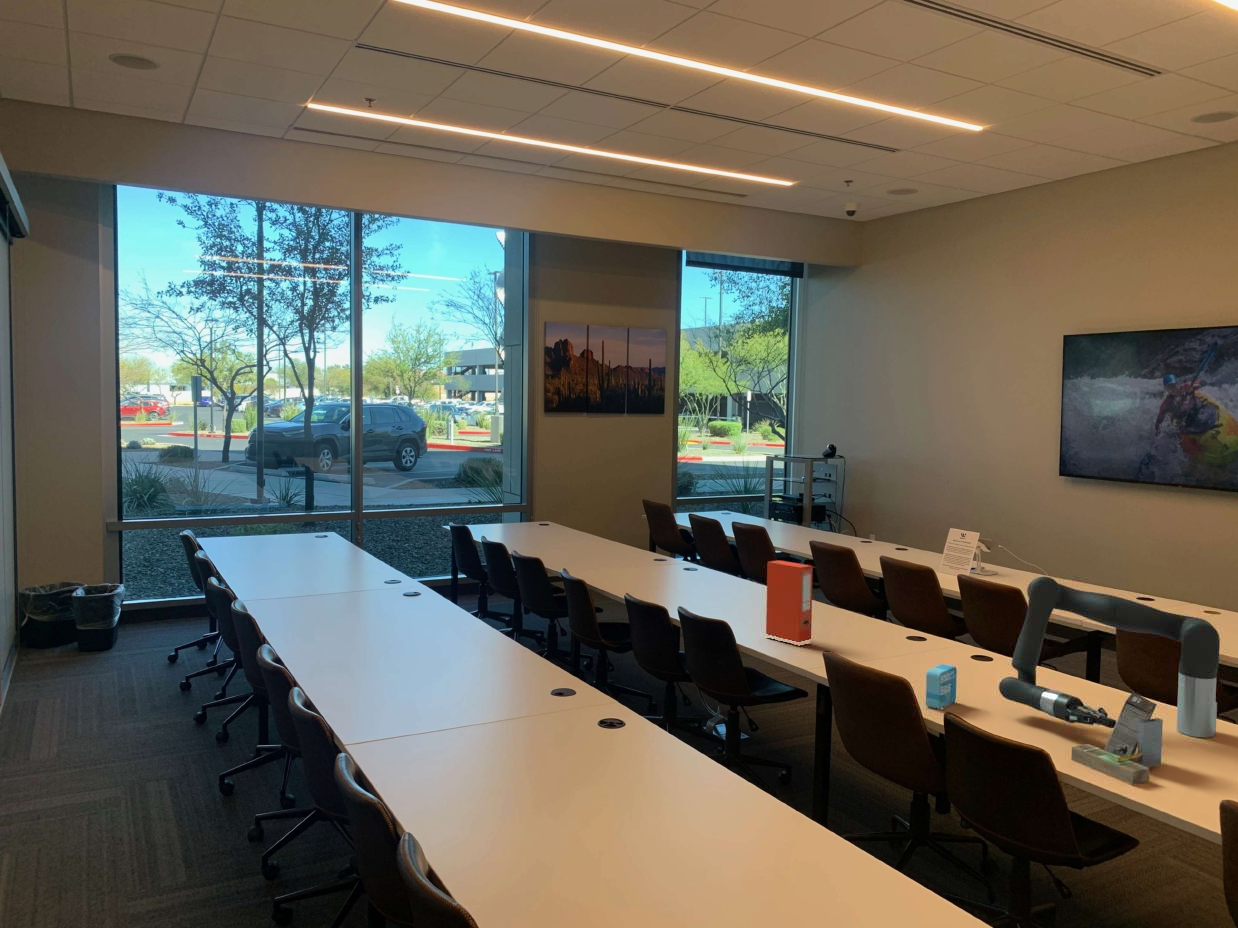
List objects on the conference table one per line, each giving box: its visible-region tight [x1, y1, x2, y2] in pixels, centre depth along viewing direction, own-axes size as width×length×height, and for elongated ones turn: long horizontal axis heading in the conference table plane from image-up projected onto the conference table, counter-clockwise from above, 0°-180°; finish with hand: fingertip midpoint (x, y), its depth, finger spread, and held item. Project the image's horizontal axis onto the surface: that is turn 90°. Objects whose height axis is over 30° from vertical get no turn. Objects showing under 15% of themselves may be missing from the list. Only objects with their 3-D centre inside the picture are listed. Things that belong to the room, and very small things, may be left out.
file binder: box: [765, 559, 814, 642], centre depth 364 cm, size 8×17×32 cm, turn 39°
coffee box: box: [1103, 692, 1157, 761], centre depth 240 cm, size 9×6×16 cm
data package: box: [925, 663, 958, 710], centre depth 284 cm, size 12×4×12 cm, turn 134°
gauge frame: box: [1071, 743, 1150, 786], centre depth 232 cm, size 6×18×4 cm, turn 22°
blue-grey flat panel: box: [1115, 717, 1164, 768], centre depth 231 cm, size 16×2×12 cm, turn 112°
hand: (1114, 724), depth 242 cm, fingers closed
